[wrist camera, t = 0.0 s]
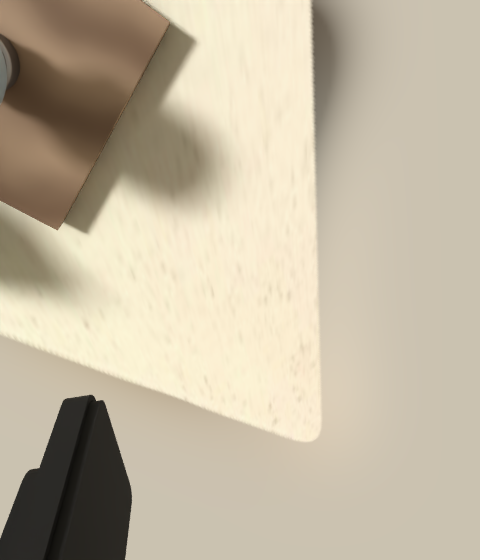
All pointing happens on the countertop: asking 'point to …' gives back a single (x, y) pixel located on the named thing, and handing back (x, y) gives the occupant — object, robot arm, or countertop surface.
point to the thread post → (66, 93)
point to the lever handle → (2, 76)
